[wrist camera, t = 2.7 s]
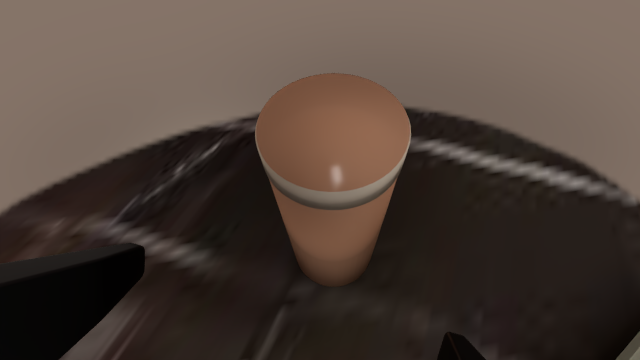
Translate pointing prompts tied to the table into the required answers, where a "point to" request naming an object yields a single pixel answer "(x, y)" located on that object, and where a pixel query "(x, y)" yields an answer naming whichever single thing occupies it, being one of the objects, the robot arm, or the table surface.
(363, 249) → the tumbler
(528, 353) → the table surface
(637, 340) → the compartment organizer
